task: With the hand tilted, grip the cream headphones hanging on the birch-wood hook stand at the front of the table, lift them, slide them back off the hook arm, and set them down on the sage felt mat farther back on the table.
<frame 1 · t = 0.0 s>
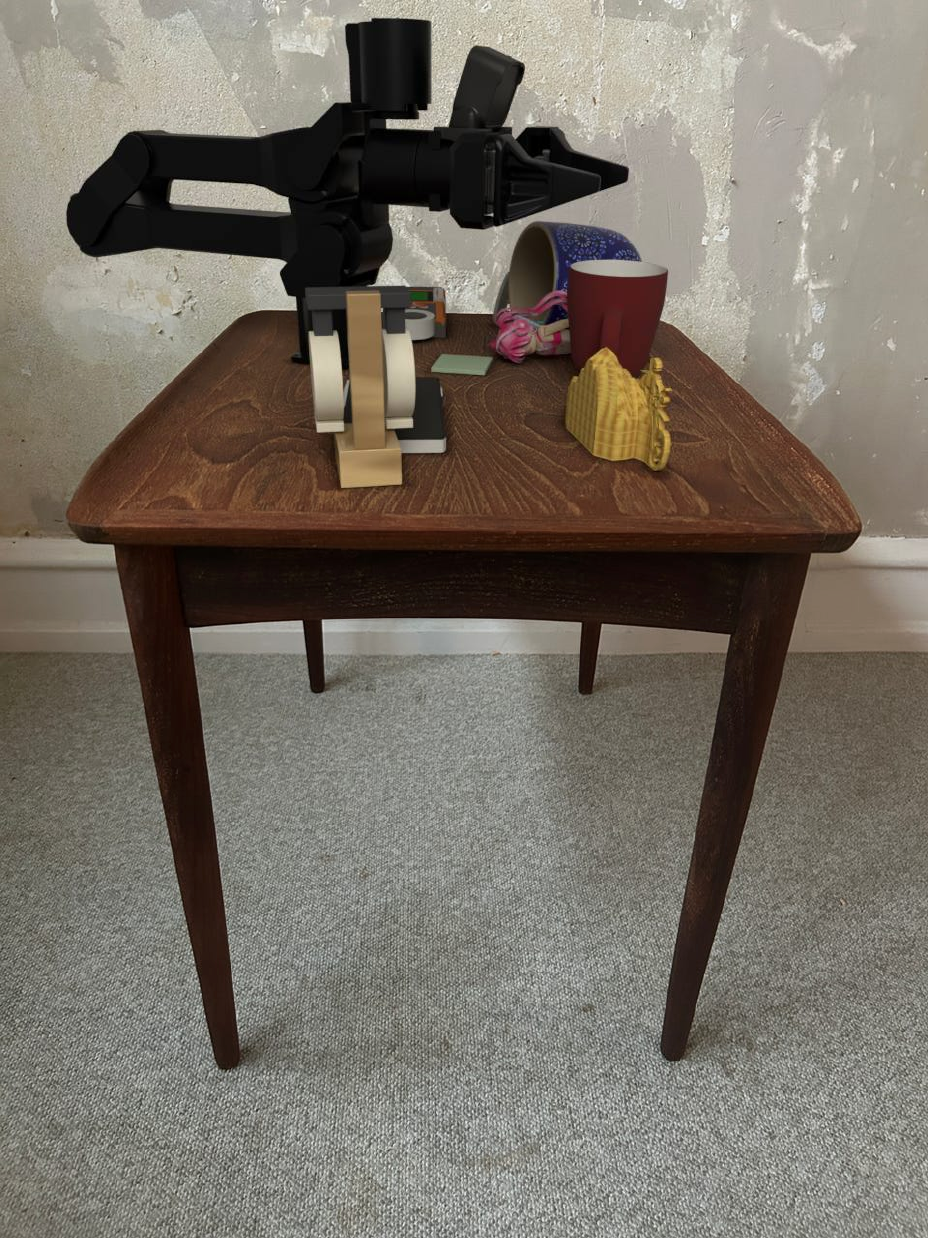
hand: (614, 178, 67), 17 cm above the table, tool horizontal, fingers open, 9 cm apart
mug: (607, 395, 75), on the table
electronic device: (414, 327, 95), on the table
hook stand: (365, 462, 61), on the table
headphones: (363, 423, 59), point 3 cm above the table, touching hook stand
felt mat: (462, 366, 82), on the table
figurine 2: (500, 297, 95), point 3 cm above the table, touching planter
smartphone: (393, 421, 69), on the table
toy: (563, 357, 85), on the table, touching planter
planter: (627, 285, 91), point 5 cm above the table, touching figurine 2, toy
figurine: (610, 450, 64), on the table
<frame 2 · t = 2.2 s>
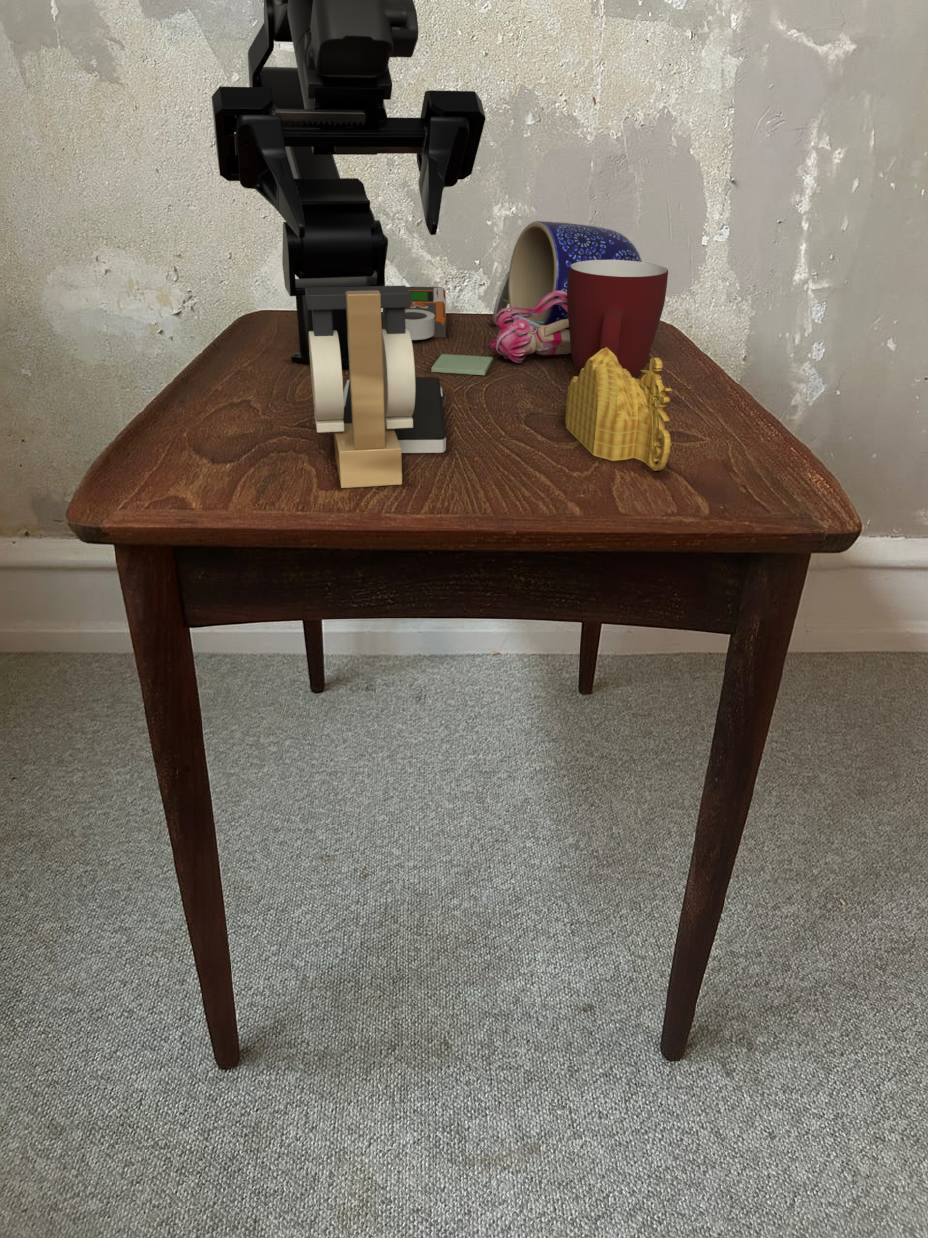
hand: (369, 231, 60), 14 cm above the table, tool tilted 50°, fingers open, 9 cm apart
nothing on the table moved.
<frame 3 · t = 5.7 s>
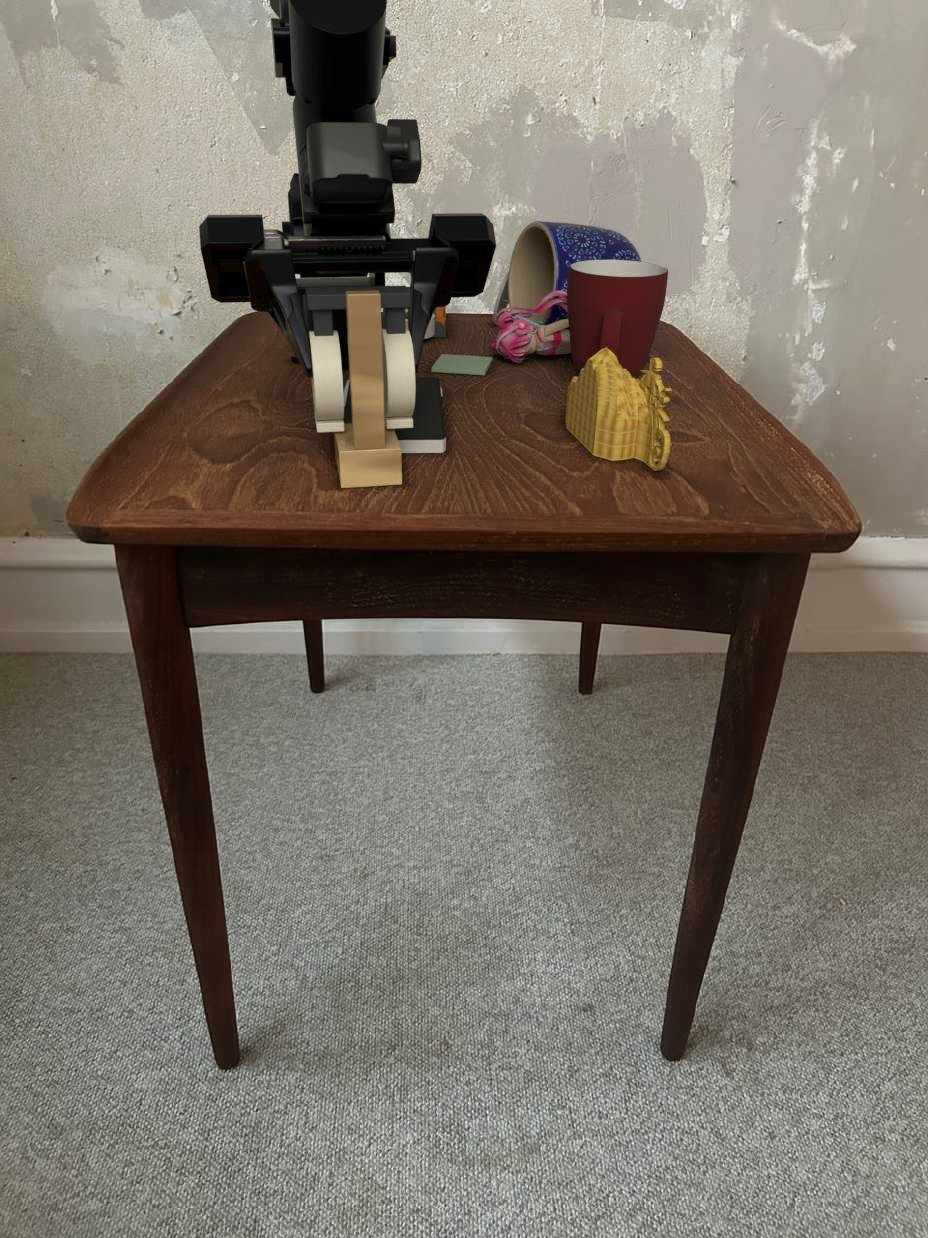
hand: (362, 372, 56), 7 cm above the table, tool tilted 45°, fingers closed on headphones, 6 cm apart
headphones: (363, 423, 59), point 3 cm above the table, touching gripper, hook stand
everything else where it was.
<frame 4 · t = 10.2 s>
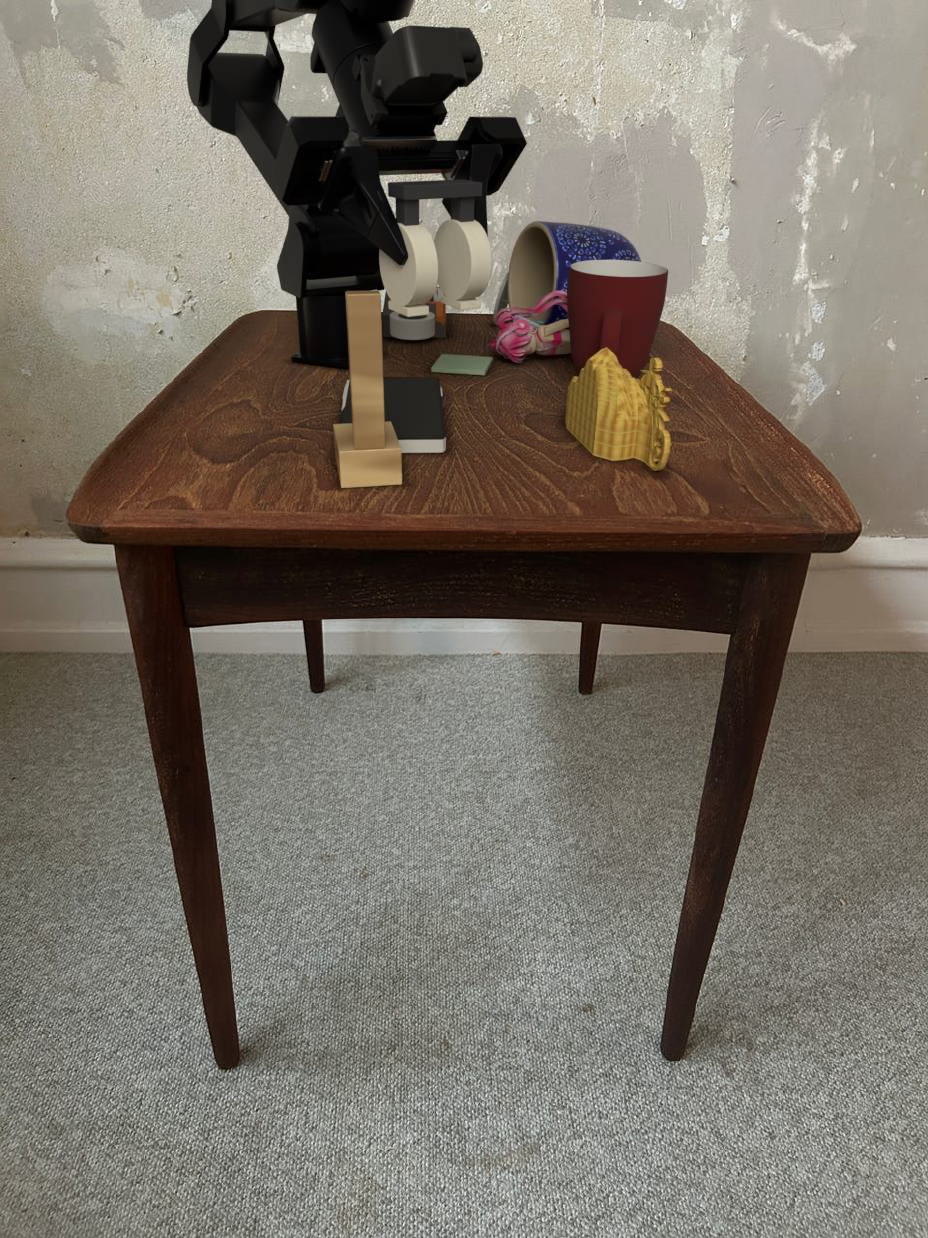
hand: (444, 257, 63), 12 cm above the table, tool tilted 45°, fingers closed on headphones, 6 cm apart
headphones: (434, 308, 66), point 8 cm above the table, touching gripper
figurine 2: (500, 297, 95), point 3 cm above the table
planter: (626, 285, 91), point 5 cm above the table, touching toy
everything else where it was.
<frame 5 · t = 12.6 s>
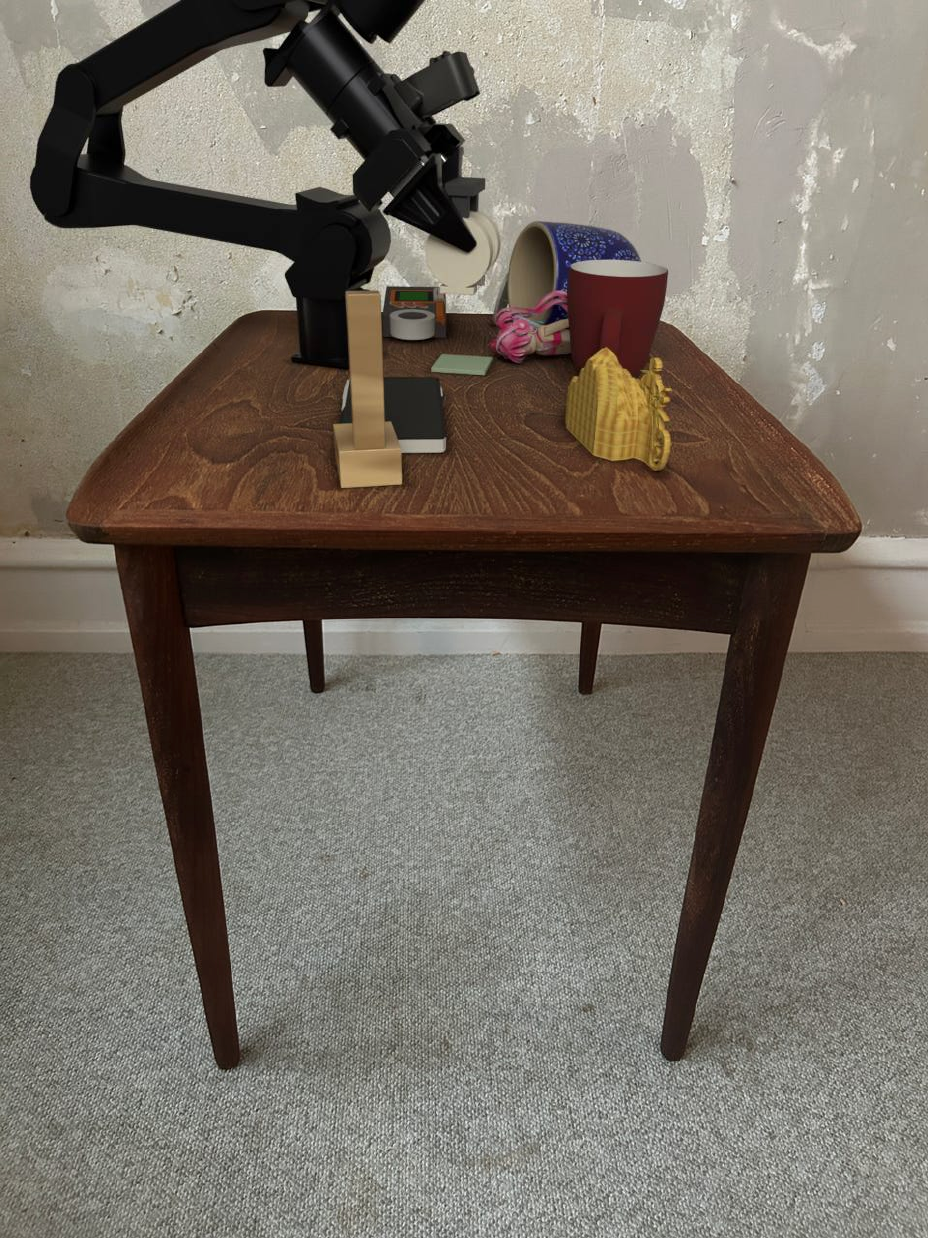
hand: (479, 242, 76), 11 cm above the table, tool tilted 45°, fingers closed on headphones, 6 cm apart
headphones: (463, 287, 78), point 7 cm above the table, touching gripper
figurine 2: (500, 297, 95), point 3 cm above the table, touching planter
planter: (626, 285, 91), point 5 cm above the table, touching figurine 2, toy
everything else where it was.
when the fingers open (4 cm above the table, at t = 14.9 s): headphones stays where it is, resting on felt mat.
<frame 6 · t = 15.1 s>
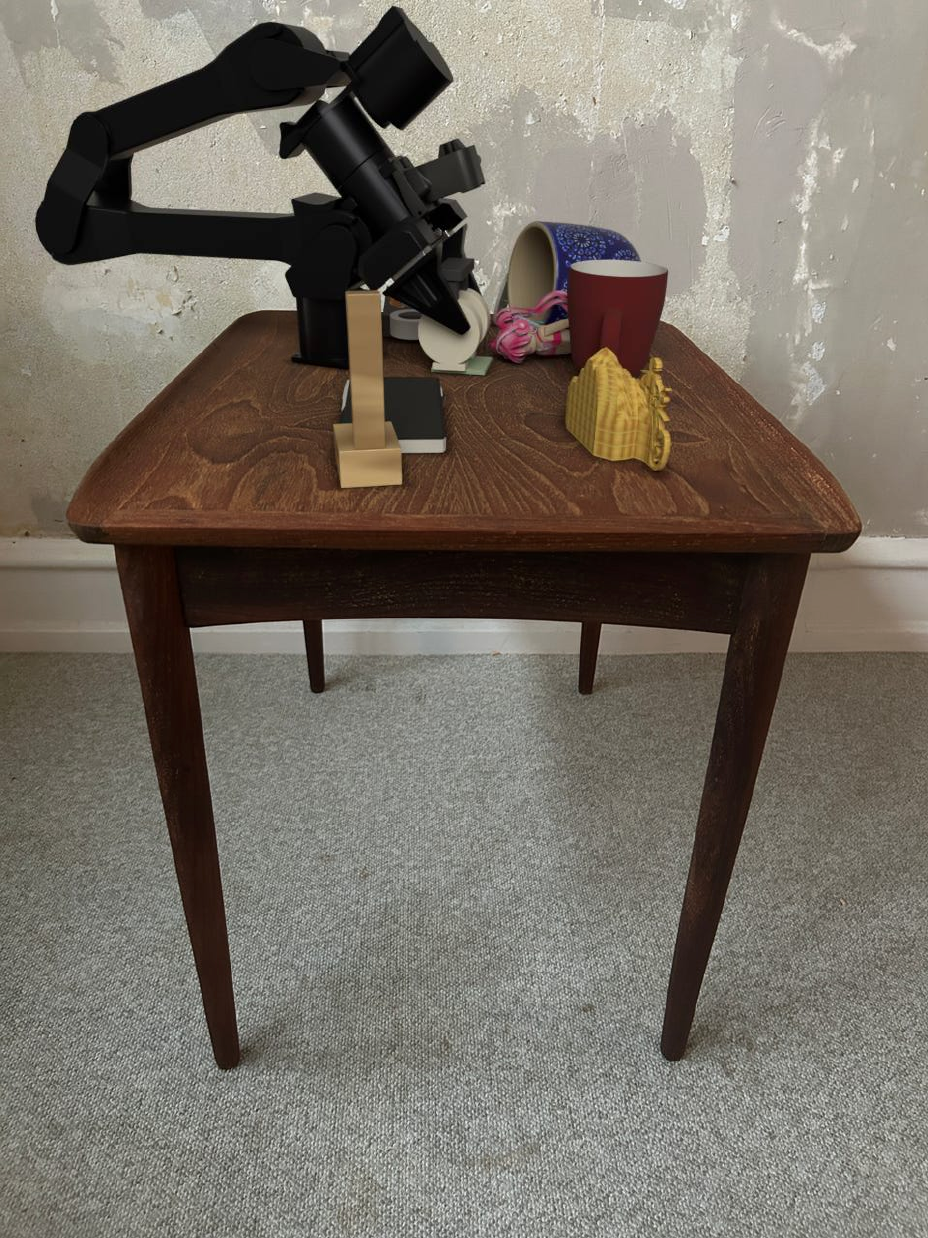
hand: (474, 320, 79), 4 cm above the table, tool tilted 40°, fingers open, 8 cm apart
headphones: (455, 361, 82), resting on felt mat
everything else where it was.
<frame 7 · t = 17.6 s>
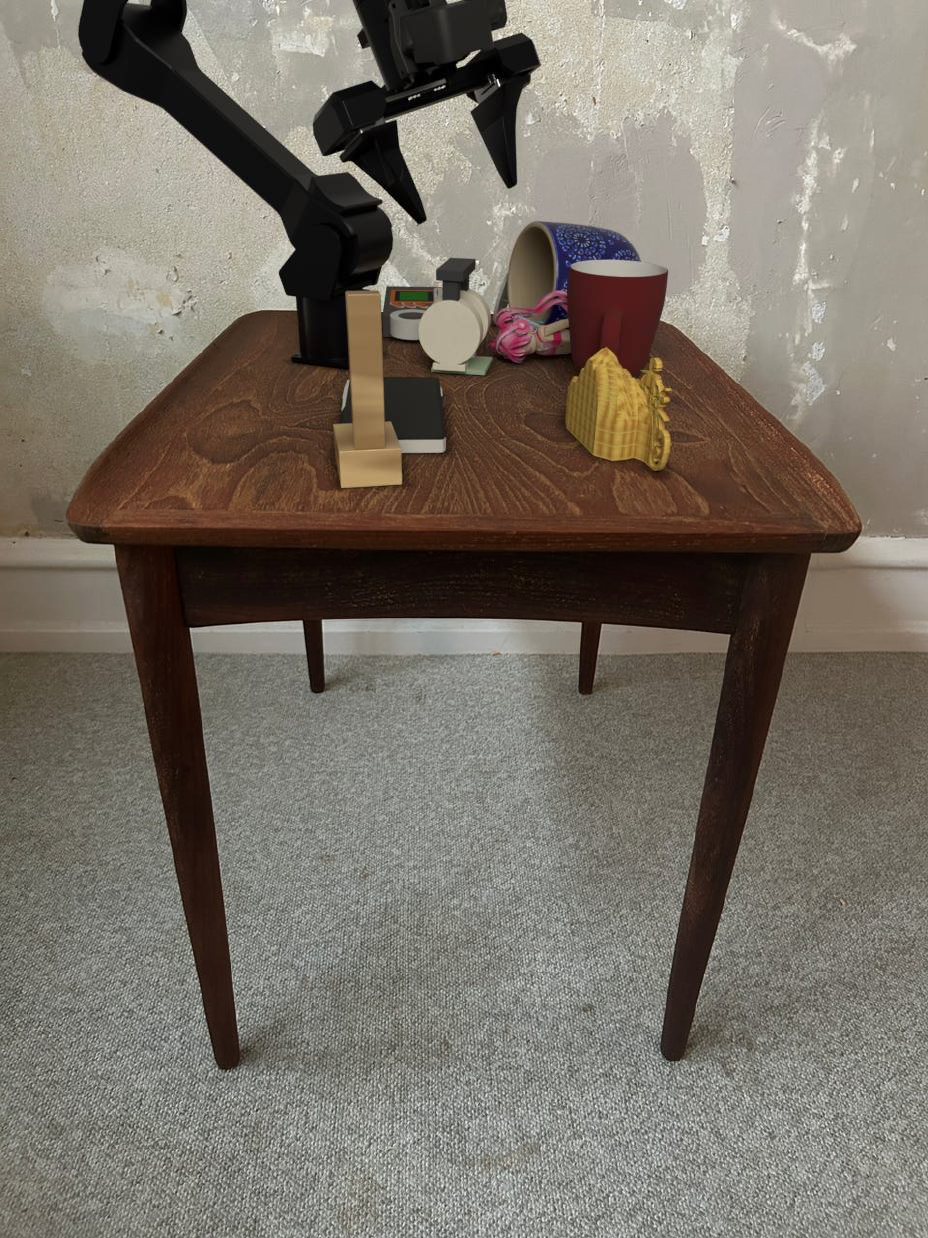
hand: (468, 204, 71), 14 cm above the table, tool tilted 25°, fingers open, 9 cm apart
nothing on the table moved.
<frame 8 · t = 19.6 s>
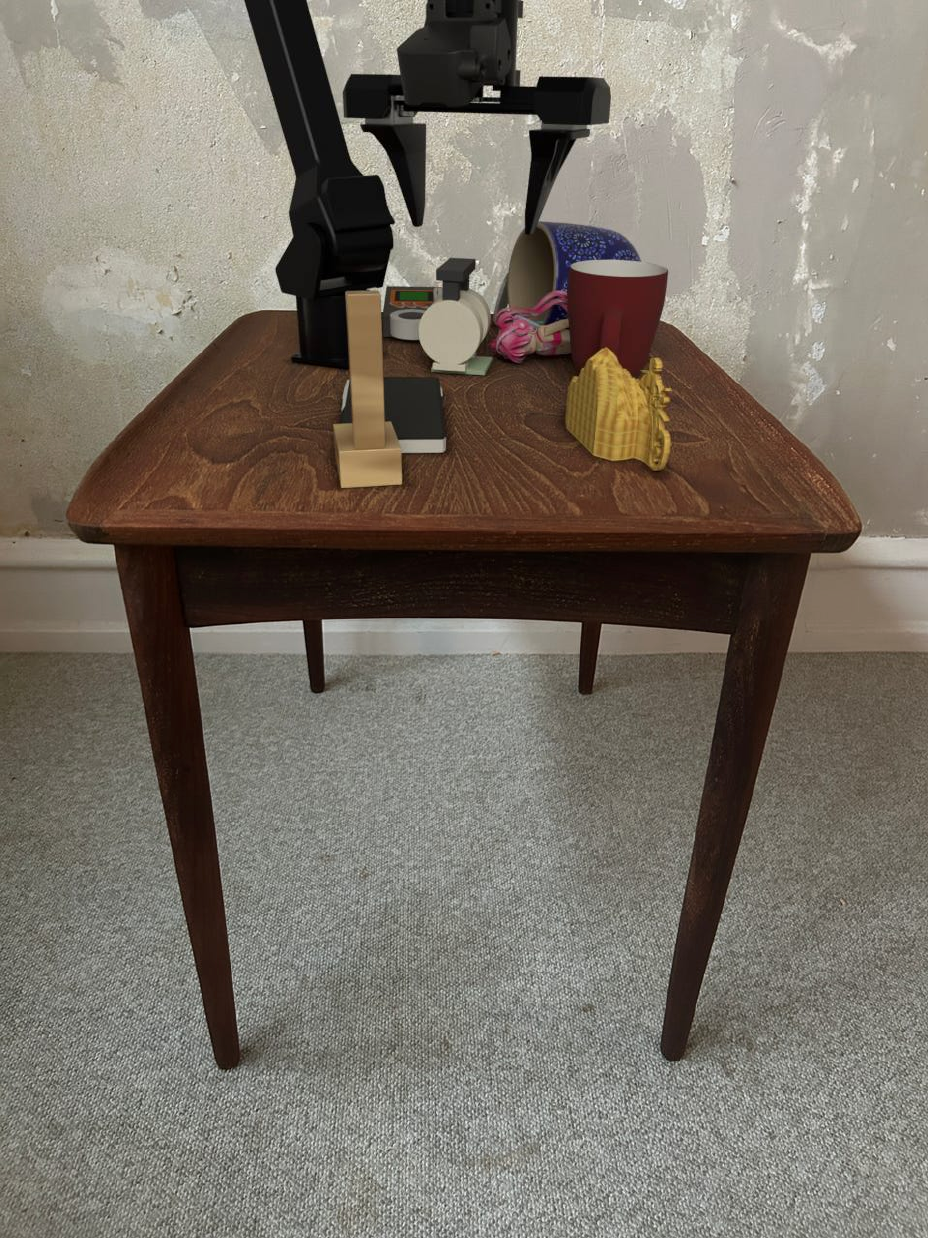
hand: (472, 230, 67), 13 cm above the table, tool pointing down, fingers open, 9 cm apart
nothing on the table moved.
at the end: headphones 0.7 cm off-centre on the felt mat, point 0.4 cm above the felt mat's base; headphones moved 25.8 cm from its start; headphones tilted 0° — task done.
